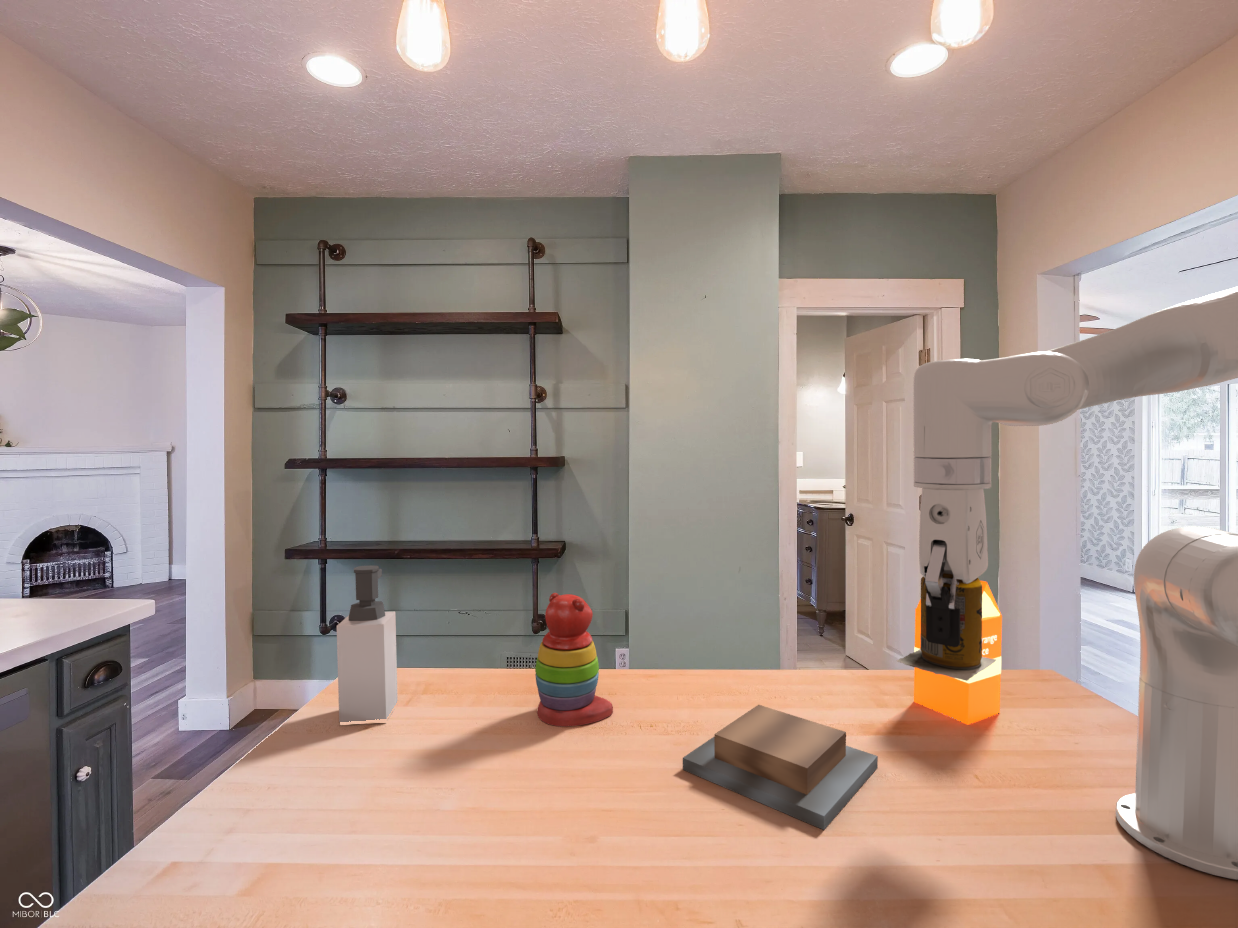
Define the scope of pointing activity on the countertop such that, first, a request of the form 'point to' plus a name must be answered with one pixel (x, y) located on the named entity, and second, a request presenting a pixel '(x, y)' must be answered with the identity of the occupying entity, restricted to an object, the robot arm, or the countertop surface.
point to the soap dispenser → (367, 654)
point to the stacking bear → (568, 666)
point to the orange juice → (979, 691)
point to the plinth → (785, 796)
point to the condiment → (969, 652)
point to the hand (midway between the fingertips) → (951, 634)
